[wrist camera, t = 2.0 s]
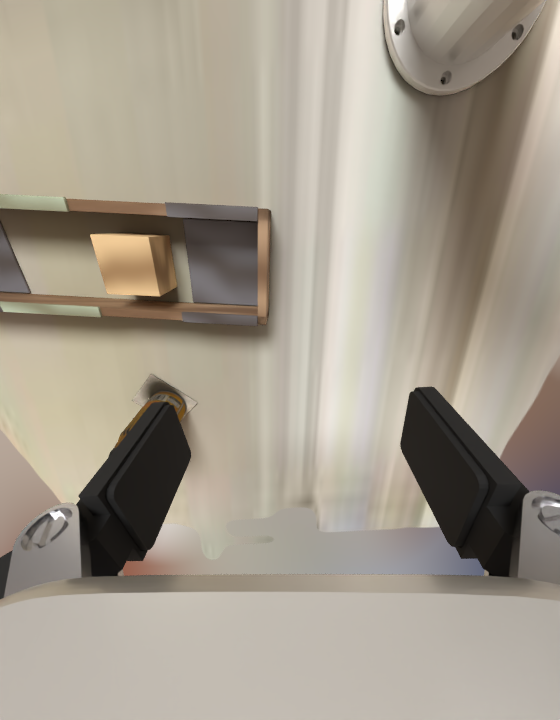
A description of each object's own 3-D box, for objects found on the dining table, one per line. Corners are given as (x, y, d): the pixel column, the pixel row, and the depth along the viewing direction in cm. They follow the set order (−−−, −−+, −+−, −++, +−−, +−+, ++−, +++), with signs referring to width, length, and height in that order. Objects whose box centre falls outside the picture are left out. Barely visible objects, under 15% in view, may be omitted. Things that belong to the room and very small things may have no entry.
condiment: (176, 425, 44) (140, 488, 34) (132, 399, 42) (78, 459, 31) (197, 401, 41) (166, 462, 31) (152, 372, 39) (100, 427, 28)
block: (119, 232, 30) (89, 234, 25) (169, 235, 29) (148, 237, 25) (132, 284, 32) (107, 293, 28) (177, 286, 32) (159, 296, 28)
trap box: (-132, 189, 28) (-197, 184, 24) (270, 210, 28) (267, 207, 24) (-65, 296, 34) (-110, 305, 30) (268, 315, 34) (265, 326, 30)
